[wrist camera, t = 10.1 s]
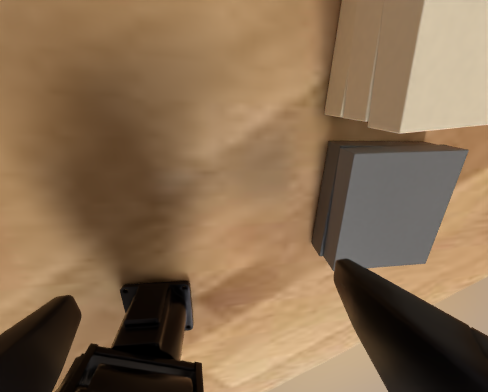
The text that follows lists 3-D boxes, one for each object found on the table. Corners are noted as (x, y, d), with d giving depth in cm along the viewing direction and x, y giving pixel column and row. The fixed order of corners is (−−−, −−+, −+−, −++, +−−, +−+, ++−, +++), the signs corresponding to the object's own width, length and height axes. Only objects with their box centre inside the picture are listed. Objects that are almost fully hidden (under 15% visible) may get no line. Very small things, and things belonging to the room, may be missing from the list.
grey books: (392, 240, 23) (424, 267, 20) (311, 243, 23) (328, 271, 19) (425, 140, 19) (473, 150, 16) (328, 139, 19) (355, 149, 15)
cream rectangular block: (464, 117, 14) (516, 122, 11) (366, 127, 13) (399, 133, 11) (518, -68, 10) (608, -118, 8) (391, -62, 10) (446, -113, 8)
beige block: (397, 116, 18) (459, 123, 14) (319, 115, 18) (355, 121, 13) (434, -18, 15) (532, -70, 10) (339, -26, 14) (398, -86, 10)
